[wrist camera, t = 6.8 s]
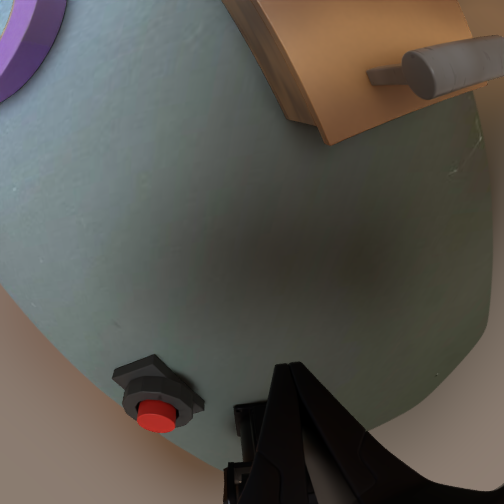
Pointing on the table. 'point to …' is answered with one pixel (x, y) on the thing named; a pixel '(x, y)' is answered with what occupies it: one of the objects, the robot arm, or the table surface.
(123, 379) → the control block
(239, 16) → the wooden box
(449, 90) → the box lid
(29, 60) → the tape roll
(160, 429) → the button
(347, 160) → the table surface
